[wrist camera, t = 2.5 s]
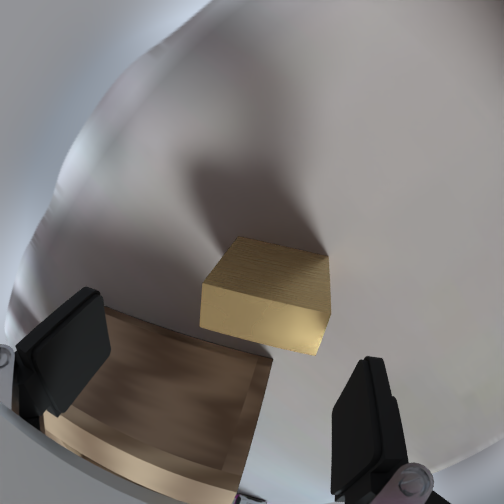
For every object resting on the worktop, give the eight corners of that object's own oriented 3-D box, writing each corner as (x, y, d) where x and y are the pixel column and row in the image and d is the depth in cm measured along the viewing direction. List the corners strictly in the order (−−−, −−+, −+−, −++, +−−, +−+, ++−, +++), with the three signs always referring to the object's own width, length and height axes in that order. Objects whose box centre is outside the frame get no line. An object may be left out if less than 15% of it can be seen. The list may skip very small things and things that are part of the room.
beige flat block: (328, 256, 15) (331, 313, 10) (318, 291, 16) (315, 355, 11) (238, 235, 16) (202, 283, 11) (233, 271, 17) (199, 326, 12)
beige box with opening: (273, 359, 19) (236, 492, 10) (243, 456, 25) (217, 533, 16) (82, 296, 21) (0, 367, 12) (111, 407, 28) (69, 467, 19)
